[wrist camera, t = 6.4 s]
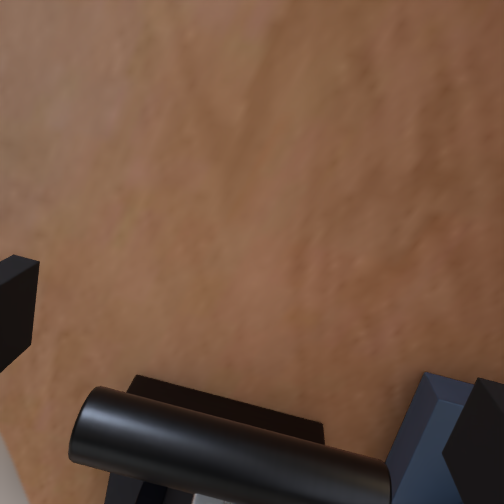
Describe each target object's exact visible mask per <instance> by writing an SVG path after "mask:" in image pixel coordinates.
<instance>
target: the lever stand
mask: <svg viewBox="0 0 504 504" xmlns="http://www.w3.org/2000/svg"><path fill="white" fill-rule="evenodd" d="M126 393H129V394H133V395H137V396H140V397H144V398H148V399H152V400H155V401H159V402H163V403H167V404H171V405H174V406H178V407H182V408H186V409H190V410H193V411H197V412H201V413H205V414H208V415H212V416H216V417H220V418H224V419H227V420H231V421H235V422H239V423H243V424H246V425H250V426H254V427H258V428H261V429H265V430H269V431H273V432H277V433H280V434H284V435H288V436H292V437H296V438H299V439H303V440H307V441H311V442H314V443H318V444H322V445H325V440H324V430H323V424H322V423H318V422H315V421H311V420H307V419H303V418H300V417H296V416H292V415H288V414H284V413H281V412H277V411H273V410H269V409H266V408H262V407H258V406H254V405H250V404H247V403H243V402H239V401H235V400H231V399H228V398H224V397H220V396H216V395H213V394H209V393H205V392H201V391H197V390H194V389H190V388H186V387H182V386H178V385H175V384H171V383H167V382H163V381H160V380H156V379H152V378H148V377H144V376H141V375H136V376H135V378H134V379H133V381H132V383H131V385H130V386H129V388H128V390H127V392H126ZM192 498H193V494H191V493H187V492H183V491H180V490H176V489H172V488H168V487H165V486H161V485H157V484H153V483H149V482H146V481H142V480H138V479H134V478H130V477H127V476H123V475H119V474H115V473H112V472H110V476H109V481H108V487H107V492H106V497H105V503H104V504H191V502H192Z"/></svg>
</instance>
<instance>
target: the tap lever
mask: <svg viewBox="0 0 504 504" xmlns="http://www.w3.org/2000/svg"><path fill="white" fill-rule="evenodd" d="M68 456H69V459H70V460H71V461H72V462H74V463H77V464H81V465H85V466H89V467H93V468H96V469H100V470H104V471H108V472H112V473H115V474H119V475H123V476H127V477H130V478H134V479H138V480H142V481H146V482H149V483H153V484H157V485H161V486H165V487H168V488H172V489H176V490H180V491H183V492H187V493H191V494H193V498H192V502H191V504H391V502H392V484H391V477H390V472H389V469H388V467H387V465H386V464H385V463H384V462H383V461H381V460H379V459H375V458H371V457H367V456H364V455H360V454H356V453H352V452H349V451H345V450H341V449H337V448H333V447H330V446H326V445H322V444H318V443H314V442H311V441H307V440H303V439H299V438H296V437H292V436H288V435H284V434H280V433H277V432H273V431H269V430H265V429H261V428H258V427H254V426H250V425H246V424H243V423H239V422H235V421H231V420H227V419H224V418H220V417H216V416H212V415H208V414H205V413H201V412H197V411H193V410H190V409H186V408H182V407H178V406H174V405H171V404H167V403H163V402H159V401H155V400H152V399H148V398H144V397H140V396H137V395H133V394H129V393H125V392H121V391H118V390H114V389H110V388H106V387H102V386H98V387H95V388H94V389H93V390H92V391H91V393H90V394H89V395H88V397H87V398H86V400H85V402H84V403H83V405H82V407H81V410H80V412H79V414H78V416H77V419H76V421H75V424H74V427H73V430H72V434H71V438H70V443H69V451H68Z"/></svg>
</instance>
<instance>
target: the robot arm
mask: <svg viewBox="0 0 504 504" xmlns="http://www.w3.org/2000/svg"><path fill="white" fill-rule="evenodd" d="M39 264H40V261H36V260H32V259H28V258H25V257H21V256H17V255H12V256H10V257H8V258H6V259H4V260H2V261H1V262H0V373H1V372H2V371H3V370H4V369H5V368H6V367H7V366H8V365H9V364H11V363H12V362H13V361H14V360H15V359H16V358H17V357H18V356H19V355H20V354H21V353H23V352H24V351H25V350H26V349H27V348H28V347H29V346H30V345H31V340H32V331H33V321H34V312H35V302H36V293H37V283H38V273H39ZM442 456H443V458H444V460H445V462H446V465H447V467H448V469H449V472H450V474H451V476H452V478H453V481H454V483H455V485H456V488H457V490H458V492H459V494H460V497H461V499H462V501H463V504H504V384H501V383H498V382H494V381H490V380H486V379H483V378H479V377H478V378H477V380H476V382H475V385H474V387H473V389H472V391H471V393H470V395H469V397H468V399H467V401H466V403H465V405H464V407H463V409H462V412H461V414H460V416H459V418H458V420H457V422H456V424H455V426H454V428H453V430H452V432H451V434H450V437H449V439H448V441H447V443H446V445H445V447H444V449H443V451H442Z"/></svg>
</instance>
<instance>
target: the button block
mask: <svg viewBox="0 0 504 504" xmlns="http://www.w3.org/2000/svg"><path fill="white" fill-rule="evenodd" d="M473 387H474V385H473V384H470V383H466V382H462V381H458V380H454V379H451V378H447V377H443V376H439V375H436V374H432V373H428V372H424V374H423V376H422V379H421V381H420V383H419V386H418V388H417V390H416V392H415V395H414V397H413V399H412V402H411V404H410V406H409V409H408V411H407V413H406V415H405V418H404V420H403V422H402V425H401V427H400V429H399V432H398V434H397V436H396V439H395V441H394V443H393V445H392V448H391V450H390V452H389V455H388V457H387V459H386V462H385V464H386V465H387V467H388V469H389V472H390V477H391V484H392V502H391V504H463V501H462V499H461V497H460V494H459V492H458V490H457V488H456V485H455V483H454V481H453V478H452V476H451V474H450V472H449V469H448V467H447V465H446V462H445V460H444V458H443V456H442V451H443V449H444V447H445V445H446V443H447V441H448V439H449V437H450V434H451V432H452V430H453V428H454V426H455V424H456V422H457V420H458V418H459V416H460V414H461V412H462V409H463V407H464V405H465V403H466V401H467V399H468V397H469V395H470V393H471V391H472V389H473Z"/></svg>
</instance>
